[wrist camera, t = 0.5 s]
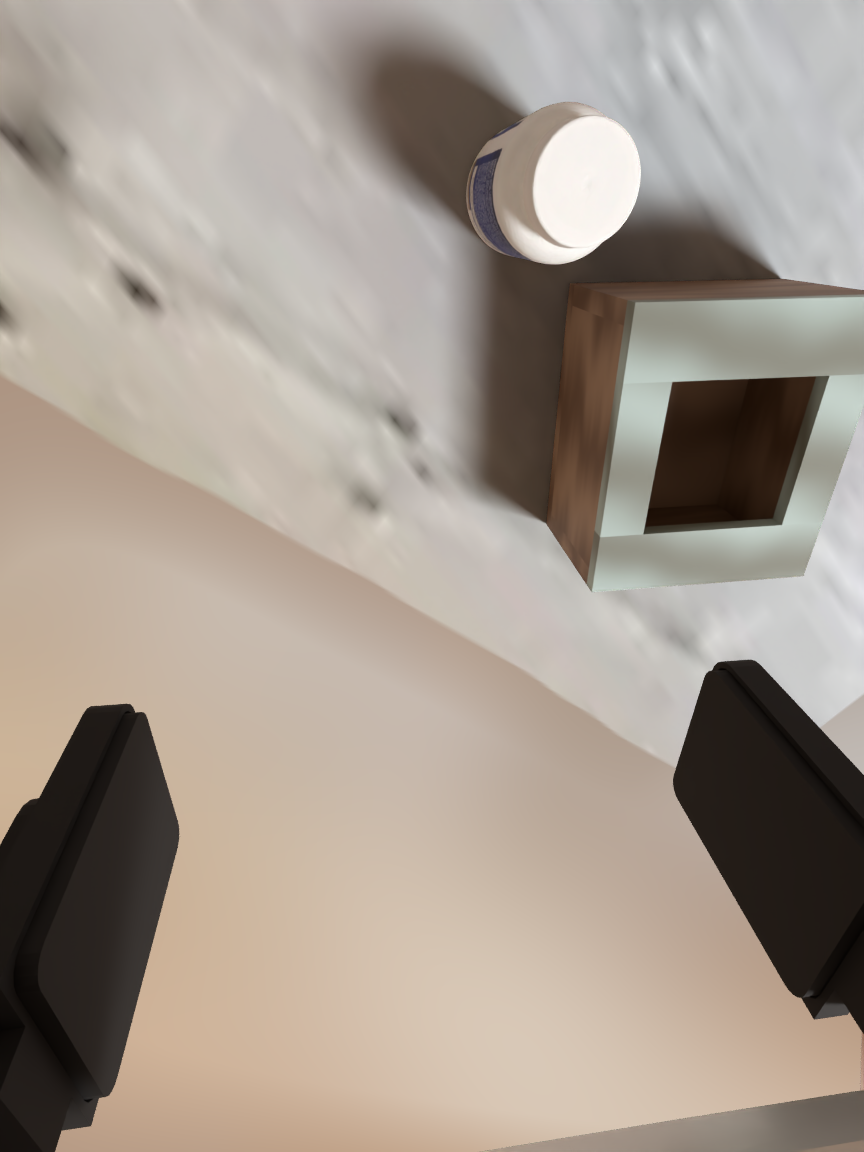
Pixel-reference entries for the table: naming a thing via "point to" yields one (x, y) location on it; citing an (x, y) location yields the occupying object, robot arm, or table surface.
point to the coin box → (702, 427)
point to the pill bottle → (554, 184)
